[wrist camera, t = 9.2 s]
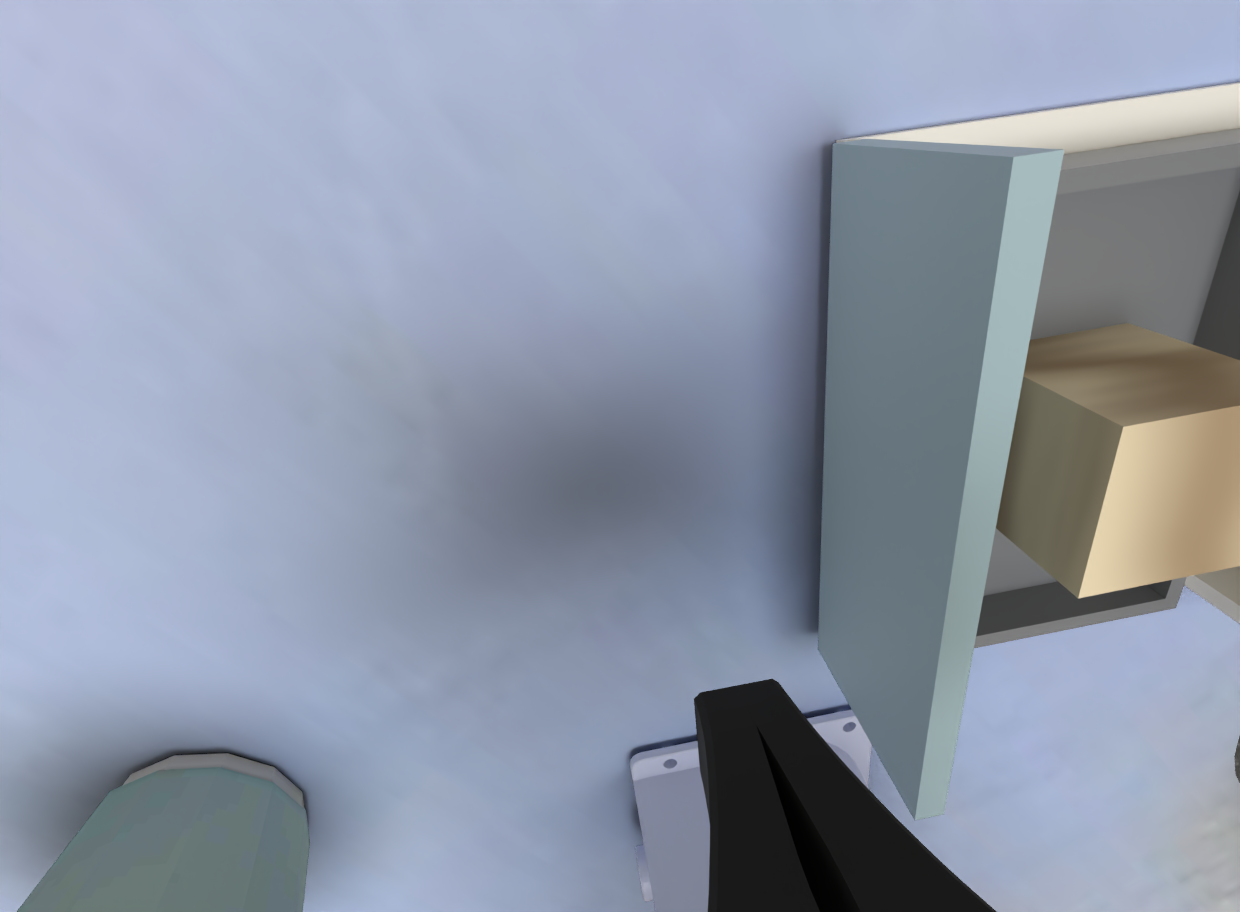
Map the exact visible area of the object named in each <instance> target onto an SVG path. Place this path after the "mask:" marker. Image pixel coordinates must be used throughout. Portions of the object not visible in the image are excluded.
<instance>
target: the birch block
mask: <svg viewBox="0 0 1240 912" xmlns="http://www.w3.org/2000/svg"><path fill="white" fill-rule="evenodd" d="M996 529H997V530H999V531H1000V532H1001V533H1002V534H1003V535H1004V536H1006V537H1007V538H1008V539H1009V540H1010V541H1011V542H1013V543H1014V544H1015V545H1016V546H1017V547H1018V548H1020V549H1021V550H1022V551H1023V552H1024V553H1025V554H1027V555H1028V556H1029V557H1030V558H1031V559H1032V560H1034V561H1035V562H1036V563H1037V564H1038V565H1039V566H1041V567H1042V568H1043V569H1044V570H1045V571H1046V572H1048V573H1049V574H1050V575H1051V576H1052V577H1054V578H1055V579H1056V580H1057V581H1058V582H1059V583H1061V584H1062V585H1063V586H1064V587H1065V588H1066V589H1068V590H1069V591H1070V592H1071V593H1072V594H1073V595H1075V596H1076V597H1077V598H1083V597H1088V596H1093V595H1098V594H1103V593H1108V592H1113V591H1118V590H1123V589H1128V588H1133V587H1138V586H1143V585H1148V584H1153V583H1158V582H1163V581H1168V580H1173V579H1178V578H1183V577H1188V576H1193V575H1198V574H1203V573H1208V572H1213V571H1218V570H1223V569H1228V568H1233V567H1237V566H1240V360H1237V359H1234V358H1231V357H1228V356H1225V355H1222V354H1219V353H1216V352H1213V351H1210V350H1207V349H1204V348H1201V347H1198V346H1195V345H1192V344H1189V343H1186V342H1183V341H1180V340H1177V339H1174V338H1171V337H1168V336H1165V335H1162V334H1159V333H1156V332H1153V331H1150V330H1147V329H1144V328H1141V327H1138V326H1135V325H1132V324H1129V323H1125V324H1119V325H1114V326H1108V327H1102V328H1096V329H1091V330H1085V331H1079V332H1073V333H1068V334H1062V335H1056V336H1050V337H1045V338H1039V339H1033V340H1030V342H1029V347H1028V353H1027V358H1026V364H1025V369H1024V375H1023V380H1022V386H1021V391H1020V397H1019V402H1018V408H1017V413H1016V419H1015V424H1014V430H1013V435H1012V441H1011V446H1010V452H1009V457H1008V463H1007V468H1006V474H1005V479H1004V485H1003V490H1002V496H1001V501H1000V507H999V512H998V518H997V524H996Z"/></svg>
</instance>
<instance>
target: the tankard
mask: <svg viewBox="0 0 1240 912" xmlns="http://www.w3.org/2000/svg"><path fill="white" fill-rule="evenodd" d="M1235 771H1236V776H1237V778H1238V780H1239V782H1240V737H1239V741H1238V745H1237V749H1236V753H1235Z"/></svg>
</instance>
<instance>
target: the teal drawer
mask: <svg viewBox="0 0 1240 912" xmlns="http://www.w3.org/2000/svg"><path fill="white" fill-rule="evenodd" d="M1063 154H1064V149H1045V148H1027V147H1009V146H990V145H972V144H954V143H936V142H917V141H899V140H881V139H860V140H853V141H846V142H839V143H833V156H832V190H831V224H830V258H829V292H828V326H827V360H826V394H825V427H824V461H823V495H822V529H821V563H820V597H819V631H818V650H819V652H820V654H821V656H822V657H823V659H824V661H825V663H826V664H827V666H828V668H829V670H830V672H831V673H832V675H833V677H834V679H835V680H836V682H837V684H838V686H839V687H840V689H841V691H842V693H843V695H844V696H845V698H846V700H847V702H848V703H849V705H850V707H851V709H852V710H853V712H854V714H855V716H856V718H857V719H858V721H859V723H860V725H861V726H862V728H863V730H864V732H865V733H866V735H867V737H868V739H869V741H870V742H871V744H872V746H873V748H874V749H875V751H876V753H877V755H878V756H879V758H880V760H881V762H882V764H883V765H884V767H885V769H886V771H887V772H888V774H889V776H890V778H891V780H892V781H893V783H894V785H895V787H896V788H897V790H898V792H899V794H900V795H901V797H902V799H903V801H904V803H905V804H906V806H907V808H908V810H909V811H910V813H911V815H912V817H913V818H914V820H920V819H925V818H929V817H934V816H938V815H943V814H944V810H945V804H946V799H947V793H948V788H949V782H950V777H951V771H952V766H953V760H954V755H955V749H956V744H957V738H958V733H959V727H960V722H961V716H962V711H963V705H964V700H965V694H966V689H967V683H968V678H969V672H970V667H971V661H972V656H973V650H974V648H978V647H983V646H988V645H993V644H998V643H1003V642H1008V641H1013V640H1018V639H1023V638H1028V637H1033V636H1038V635H1043V634H1048V633H1053V632H1058V631H1063V630H1068V629H1073V628H1078V627H1083V626H1088V625H1093V624H1098V623H1103V622H1108V621H1113V620H1118V619H1123V618H1128V617H1133V616H1138V615H1143V614H1148V613H1153V612H1158V611H1163V610H1168V609H1173V608H1176V606H1177V603H1178V600H1179V598H1180V595H1181V592H1182V589H1183V587H1184V584H1185V581H1186V578H1187V577H1183V578H1178V579H1173V580H1168V581H1163V582H1158V583H1153V584H1148V585H1143V586H1138V587H1133V588H1128V589H1123V590H1118V591H1113V592H1108V593H1103V594H1098V595H1093V596H1088V597H1083V598H1077V597H1076V596H1075V595H1073V594H1072V593H1071V592H1070V591H1069V590H1068V589H1066V588H1065V587H1064V586H1063V585H1062V584H1061V583H1059V582H1058V581H1057V580H1056V579H1055V578H1054V577H1052V576H1051V575H1050V574H1049V573H1048V572H1046V571H1045V570H1044V569H1043V568H1042V567H1041V566H1039V565H1038V564H1037V563H1036V562H1035V561H1034V560H1032V559H1031V558H1030V557H1029V556H1028V555H1027V554H1025V553H1024V552H1023V551H1022V550H1021V549H1020V548H1018V547H1017V546H1016V545H1015V544H1014V543H1013V542H1011V541H1010V540H1009V539H1008V538H1007V537H1006V536H1004V535H1003V534H1002V533H1001V532H1000V531H999V530H997V529H996V524H997V518H998V512H999V507H1000V501H1001V496H1002V490H1003V485H1004V479H1005V474H1006V468H1007V463H1008V457H1009V452H1010V446H1011V441H1012V435H1013V430H1014V424H1015V419H1016V413H1017V408H1018V402H1019V397H1020V391H1021V386H1022V380H1023V375H1024V369H1025V364H1026V358H1027V353H1028V347H1029V342H1030V340H1033V339H1039V338H1045V337H1050V336H1056V335H1062V334H1068V333H1073V332H1079V331H1085V330H1091V329H1096V328H1102V327H1108V326H1114V325H1119V324H1125V323H1129V324H1132V325H1135V326H1138V327H1141V328H1144V329H1147V330H1150V331H1153V332H1156V333H1159V334H1162V335H1165V336H1168V337H1171V338H1174V339H1177V340H1180V341H1183V342H1186V343H1189V344H1192V345H1195V346H1198V347H1201V348H1204V349H1207V350H1210V351H1213V352H1216V353H1219V354H1222V355H1225V356H1228V357H1231V358H1234V359H1237V360H1240V128H1238V129H1232V130H1225V131H1218V132H1211V133H1205V134H1198V135H1191V136H1185V137H1178V138H1171V139H1165V140H1158V141H1151V142H1145V143H1138V144H1131V145H1124V146H1118V147H1111V148H1104V149H1098V150H1091V151H1084V152H1078V153H1071V154H1064V155H1063Z"/></svg>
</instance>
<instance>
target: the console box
mask: <svg viewBox="0 0 1240 912" xmlns="http://www.w3.org/2000/svg"><path fill="white" fill-rule="evenodd" d="M1238 128H1240V82H1236V83H1229V84H1222V85H1215V86H1209V87H1202V88H1195V89H1188V90H1181V91H1174V92H1167V93H1160V94H1153V95H1146V96H1139V97H1132V98H1125V99H1119V100H1112V101H1105V102H1098V103H1091V104H1084V105H1077V106H1070V107H1063V108H1056V109H1049V110H1042V111H1035V112H1028V113H1022V114H1015V115H1008V116H1001V117H994V118H987V119H980V120H973V121H966V122H959V123H952V124H945V125H938V126H932V127H925V128H918V129H911V130H904V131H897V132H890V133H883V134H876V135H869V136H862V137H855V138H848V139H841V140H836V143H839V142H846V141H853V140H860V139H881V140H899V141H917V142H936V143H954V144H972V145H990V146H1009V147H1027V148H1045V149H1064V154H1071V153H1078V152H1084V151H1091V150H1098V149H1104V148H1111V147H1118V146H1124V145H1131V144H1138V143H1145V142H1151V141H1158V140H1165V139H1171V138H1178V137H1185V136H1191V135H1198V134H1205V133H1211V132H1218V131H1225V130H1232V129H1238ZM1064 154H1063V155H1064ZM1184 585H1185V586H1186V587H1187V588H1189V589H1190V590H1192V591H1193V592H1195V593H1196V594H1197V595H1199V596H1200V597H1202V598H1203V599H1205V600H1206V601H1207V602H1209V603H1210V604H1212V605H1213V606H1215V607H1216V608H1217V609H1219V610H1220V611H1222V612H1223V613H1225V614H1226V615H1227V616H1229V617H1230V618H1232V619H1233V620H1235V621H1236V622H1237V623H1239V624H1240V566H1237V567H1233V568H1228V569H1223V570H1218V571H1213V572H1208V573H1203V574H1198V575H1193V576H1188V577H1187V578H1186V581H1185V584H1184Z"/></svg>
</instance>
